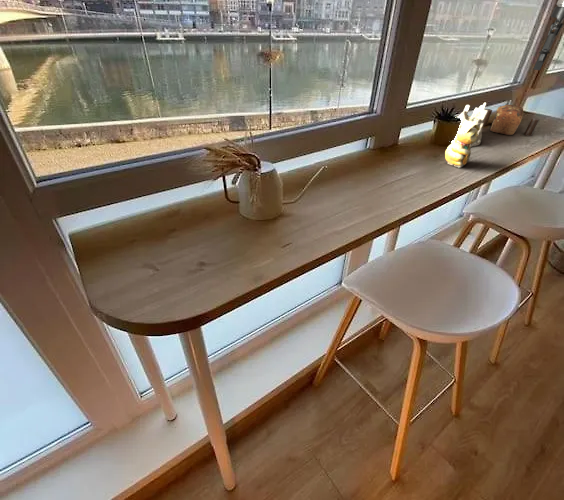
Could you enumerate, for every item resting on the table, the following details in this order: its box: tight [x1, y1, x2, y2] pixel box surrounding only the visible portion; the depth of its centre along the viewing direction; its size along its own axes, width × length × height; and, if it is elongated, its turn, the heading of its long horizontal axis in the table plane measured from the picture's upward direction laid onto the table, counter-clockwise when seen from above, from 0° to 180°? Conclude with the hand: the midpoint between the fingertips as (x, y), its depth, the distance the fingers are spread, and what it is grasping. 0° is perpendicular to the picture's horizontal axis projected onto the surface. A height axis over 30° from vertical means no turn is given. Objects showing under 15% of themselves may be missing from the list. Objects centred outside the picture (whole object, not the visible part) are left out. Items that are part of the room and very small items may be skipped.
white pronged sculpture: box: [450, 102, 488, 147], centre depth 134 cm, size 16×16×15 cm
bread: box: [490, 104, 524, 136], centre depth 149 cm, size 19×11×10 cm, turn 147°
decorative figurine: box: [444, 121, 480, 169], centre depth 113 cm, size 10×8×15 cm
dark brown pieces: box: [483, 108, 540, 137], centre depth 148 cm, size 22×3×7 cm, turn 51°
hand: (536, 69), depth 151 cm, fingers closed
